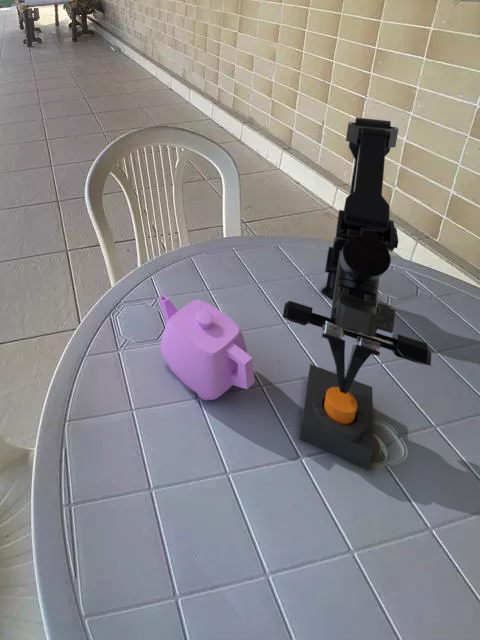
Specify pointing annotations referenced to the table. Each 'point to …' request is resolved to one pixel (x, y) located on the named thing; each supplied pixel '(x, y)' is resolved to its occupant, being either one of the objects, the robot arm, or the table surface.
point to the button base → (332, 435)
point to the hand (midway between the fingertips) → (343, 392)
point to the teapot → (205, 349)
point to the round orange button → (340, 406)
